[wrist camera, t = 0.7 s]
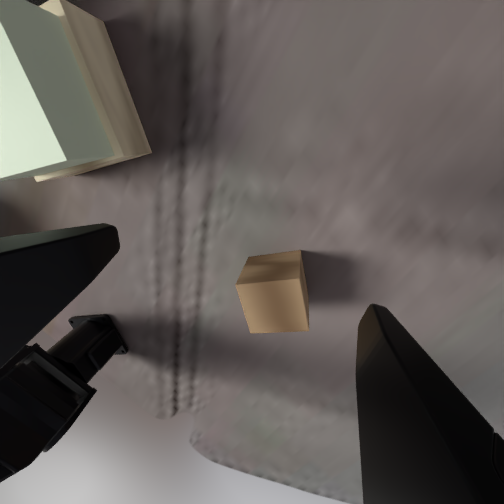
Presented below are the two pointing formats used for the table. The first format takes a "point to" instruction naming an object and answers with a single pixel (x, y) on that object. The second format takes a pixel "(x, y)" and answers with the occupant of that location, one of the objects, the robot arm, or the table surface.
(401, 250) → the table surface
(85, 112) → the sage cap block
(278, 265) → the tan wooden cube
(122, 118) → the birch base block
